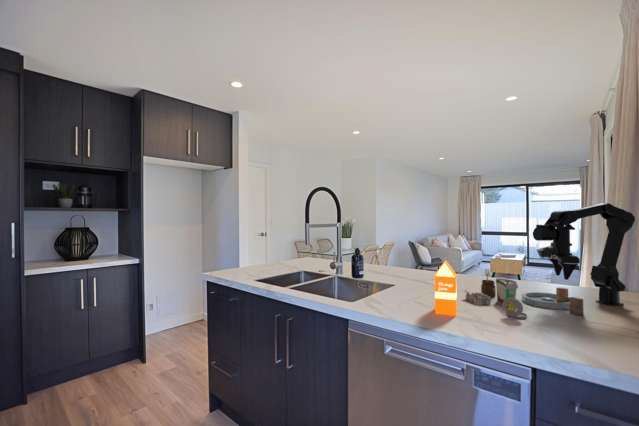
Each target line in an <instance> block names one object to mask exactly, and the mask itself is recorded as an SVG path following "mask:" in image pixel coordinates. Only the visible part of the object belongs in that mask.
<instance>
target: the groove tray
mask: <svg viewBox="0 0 639 426" xmlns="http://www.w3.org/2000/svg"><path fill="white" fill-rule="evenodd" d="M570 297H571V296H568V302H563V303H559V302H557V301H556V293H550V292H542V291H541V292H539V291H530V292H524V293H522V294H521V299H522V300H521V301H522V302H523V303H525V304H528V305H530V306H535V307H538V308H544V309H552V310H570Z"/></svg>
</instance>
